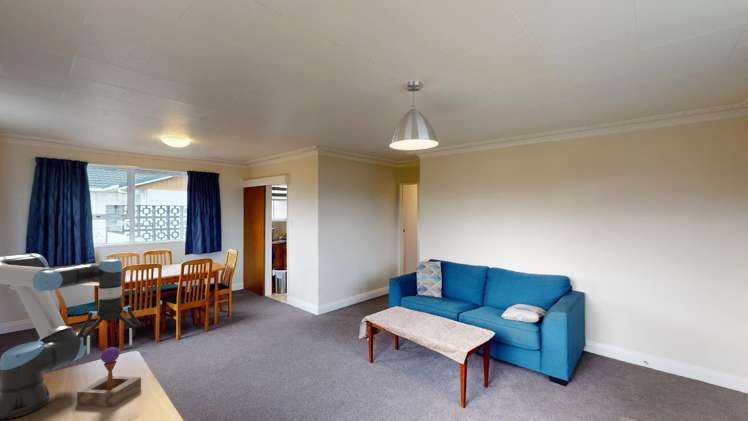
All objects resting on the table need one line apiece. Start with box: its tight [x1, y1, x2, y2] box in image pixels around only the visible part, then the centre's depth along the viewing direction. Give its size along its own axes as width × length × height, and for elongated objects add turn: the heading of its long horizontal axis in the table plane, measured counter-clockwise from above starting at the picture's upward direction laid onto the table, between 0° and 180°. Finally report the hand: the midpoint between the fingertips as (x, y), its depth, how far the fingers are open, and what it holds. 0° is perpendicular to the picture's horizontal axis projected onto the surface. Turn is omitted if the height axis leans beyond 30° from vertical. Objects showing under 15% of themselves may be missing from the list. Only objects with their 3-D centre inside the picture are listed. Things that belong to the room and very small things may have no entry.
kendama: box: [100, 346, 120, 391], centre depth 135 cm, size 6×6×20 cm
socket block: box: [76, 375, 142, 407], centre depth 135 cm, size 16×13×5 cm
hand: (110, 348), depth 135 cm, fingers open, 13 cm apart
